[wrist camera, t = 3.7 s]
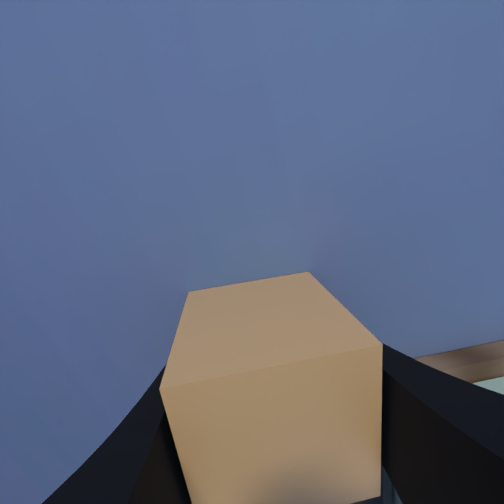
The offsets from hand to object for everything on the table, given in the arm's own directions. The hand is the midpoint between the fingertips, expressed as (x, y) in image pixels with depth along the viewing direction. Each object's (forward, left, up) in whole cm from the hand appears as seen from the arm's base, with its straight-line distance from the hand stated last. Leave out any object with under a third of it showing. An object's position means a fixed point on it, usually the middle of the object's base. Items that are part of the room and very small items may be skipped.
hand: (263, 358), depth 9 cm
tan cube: (0, 0, -2) cm, 2 cm away
